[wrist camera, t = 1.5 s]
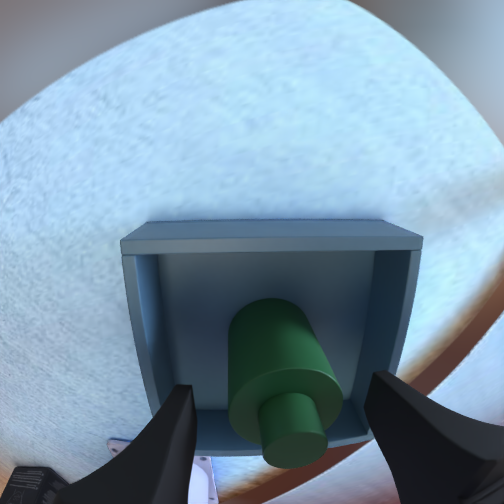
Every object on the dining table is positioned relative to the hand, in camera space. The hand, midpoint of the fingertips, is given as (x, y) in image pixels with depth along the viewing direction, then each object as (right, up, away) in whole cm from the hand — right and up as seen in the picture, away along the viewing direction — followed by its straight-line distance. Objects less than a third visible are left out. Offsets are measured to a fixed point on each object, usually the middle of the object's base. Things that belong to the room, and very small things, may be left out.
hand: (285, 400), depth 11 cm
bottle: (0, +1, +5) cm, 5 cm away
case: (0, +1, +6) cm, 6 cm away
